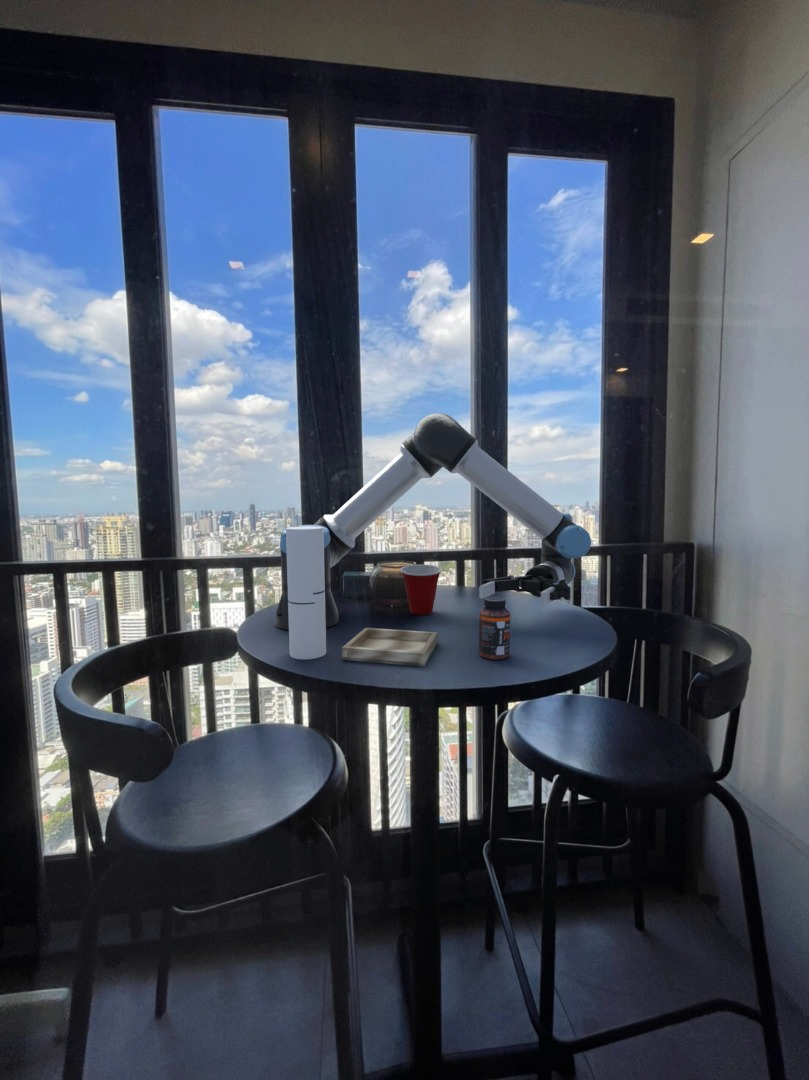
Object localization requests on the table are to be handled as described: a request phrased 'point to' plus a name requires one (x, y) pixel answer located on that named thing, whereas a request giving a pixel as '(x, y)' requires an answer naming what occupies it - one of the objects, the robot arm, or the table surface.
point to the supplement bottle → (494, 629)
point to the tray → (391, 646)
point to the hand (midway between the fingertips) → (510, 595)
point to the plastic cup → (421, 587)
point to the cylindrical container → (306, 592)
